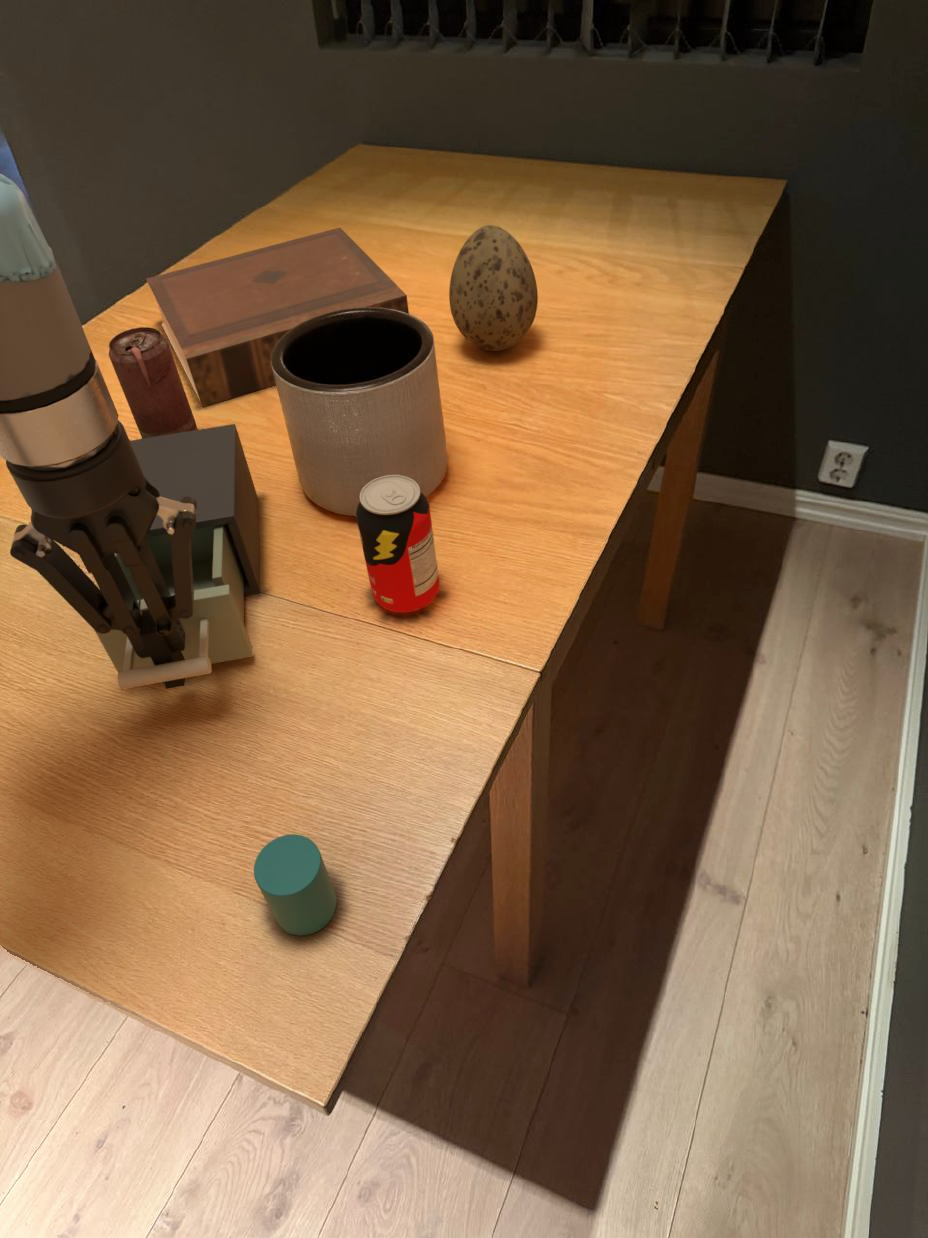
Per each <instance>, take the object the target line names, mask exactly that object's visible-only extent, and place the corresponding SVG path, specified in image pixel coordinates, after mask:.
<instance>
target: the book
mask: <svg viewBox="0 0 928 1238" xmlns="http://www.w3.org/2000/svg"><path fill="white" fill-rule="evenodd" d="M384 271H385V270H384ZM384 271H383V269H382V268H381V267H380V266H379V265H378V264H377V263H376V262H375V261H374V260H373V259H372V258H371V257H370V256H369V255H368V254H367V253H366V252H365V251H364V250H363V249H362V248H361V247H360V246H359V245H358V244H357V243H356V241H354V239H352V238H351V237H350V235H349V234H347V233H346V232H345V230H343V228H341V227H337V228H333V229H330V230H325V231H322V232H318V233H314V234H310V235H306V236H303V237H298V238H295V239H291V240H287V241H283V242H280V243H276V244H272V245H269V246H264V247H261V248H257V249H254V250H249V251H246V252H242V253H238V254H234V255H231V256H227V257H223V258H219V259H216V260H212V261H207V262H205V263H200V264H196V265H193V266H188V267H185V268H181V269H178V270H174V271H169V272H167V273H161V274H158V275H154V276H150V277H147V278H145V280H146V282H147V284H148V286H149V288H150V290H151V292H152V294H153V296H154V299H155V301H156V304H157V306H158V309H159V312H160V316H161V318H162V321H163V322H162V323H161V327H162V329H163V330H164V332H165V334H166V337H167V338H168V341H169V342H170V344H171V346H172V348H173V350H174V352H175V354H176V357H177V358H178V361H179V362H180V365H181V367H182V368H183V370H184V372H185V374H186V377H187V378H188V380H189V382H190V385H191V386H192V388H193V390H194V392H195V395H196V397H197V398H198V400H199V402H200V404H201V407H202V408H205V407H208V406H212V405H214V404H218V403H220V402H224V401H228V400H231V399H234V398H238V397H241V396H244V395H247V394H250V393H254V392H258V391H260V390H263V389H267V388H270V387H273V386H276V382H275V378H274V374H273V370H272V366H271V353H272V350H273V348H274V346H275V344H276V343H277V342H278V340H279V339H280V338H281V337H282V336H283V335H284V334H285V333H287V332H288V331H289V330H291V329H292V328H294V327H295V326H297V325H299V324H300V323H302V322H304V321H306V320H309V319H311V318H314V317H316V316H319V315H322V314H325V313H329V312H333V311H338V310H343V309H350V308H361V307H376V308H387V309H393V310H398V311H402V312H405V313H408V314H410V311H409V302H408V297H407V293H405V291H404V290H403V289H402V288H400V286H399V285H397V283H395V281H394V280H393V279H392V278H391V277H390V276H389V275H388V274H387V273H385V272H384Z"/></svg>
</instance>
